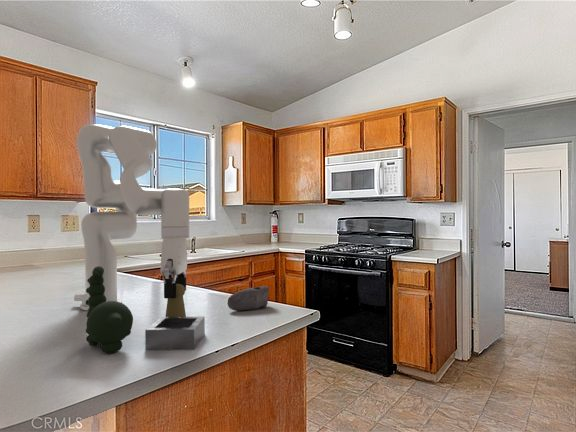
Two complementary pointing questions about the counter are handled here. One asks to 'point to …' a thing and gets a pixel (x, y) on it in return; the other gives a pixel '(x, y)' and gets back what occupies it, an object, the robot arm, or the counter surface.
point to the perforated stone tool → (249, 299)
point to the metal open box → (175, 333)
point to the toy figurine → (105, 316)
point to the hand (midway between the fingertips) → (175, 294)
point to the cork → (176, 304)
